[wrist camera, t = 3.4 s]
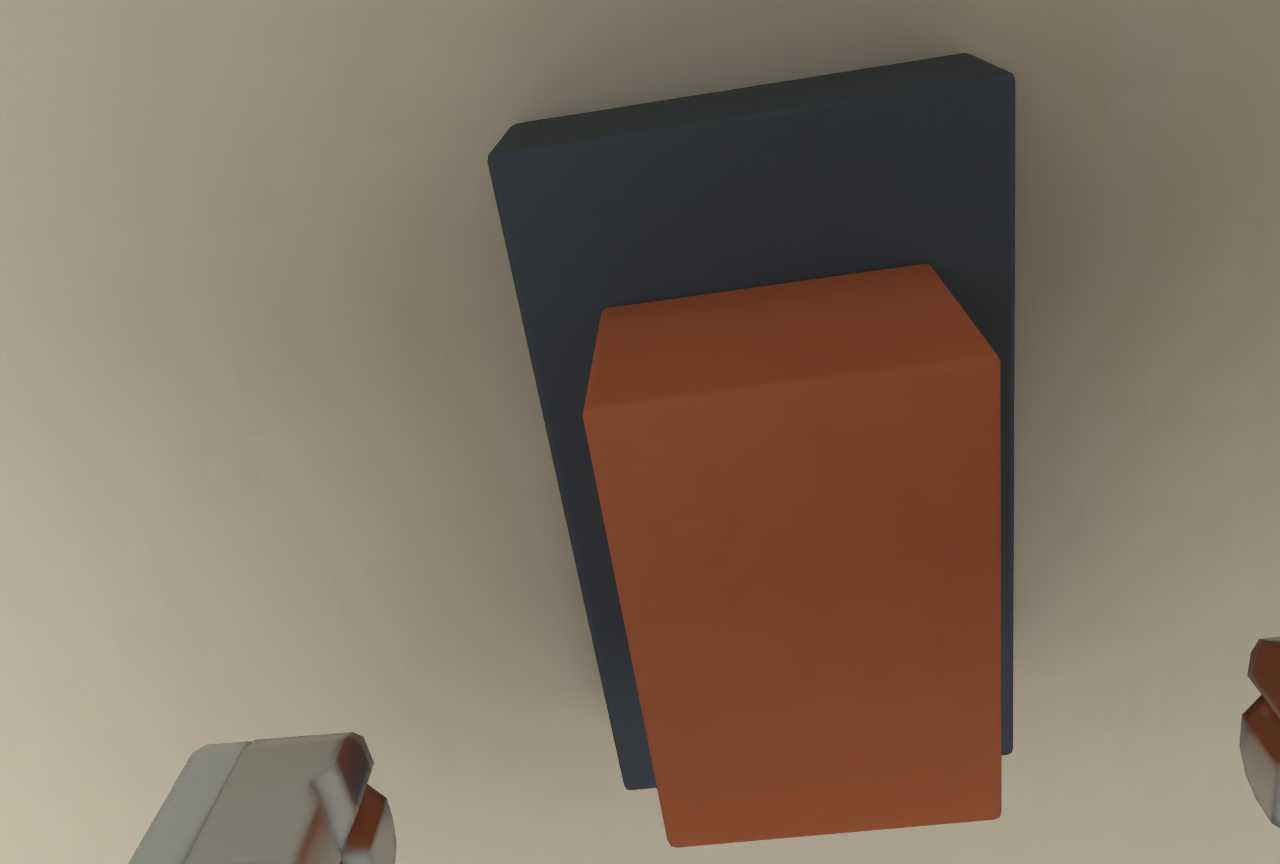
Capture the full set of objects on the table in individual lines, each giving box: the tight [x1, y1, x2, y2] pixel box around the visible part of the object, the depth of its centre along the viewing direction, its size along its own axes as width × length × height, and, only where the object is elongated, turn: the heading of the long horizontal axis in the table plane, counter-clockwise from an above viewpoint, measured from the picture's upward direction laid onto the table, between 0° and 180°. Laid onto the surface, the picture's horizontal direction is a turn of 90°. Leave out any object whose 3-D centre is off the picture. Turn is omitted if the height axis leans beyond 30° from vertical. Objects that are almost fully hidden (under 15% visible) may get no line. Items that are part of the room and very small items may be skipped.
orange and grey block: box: [488, 53, 1015, 847], centre depth 13 cm, size 6×10×5 cm, turn 9°
